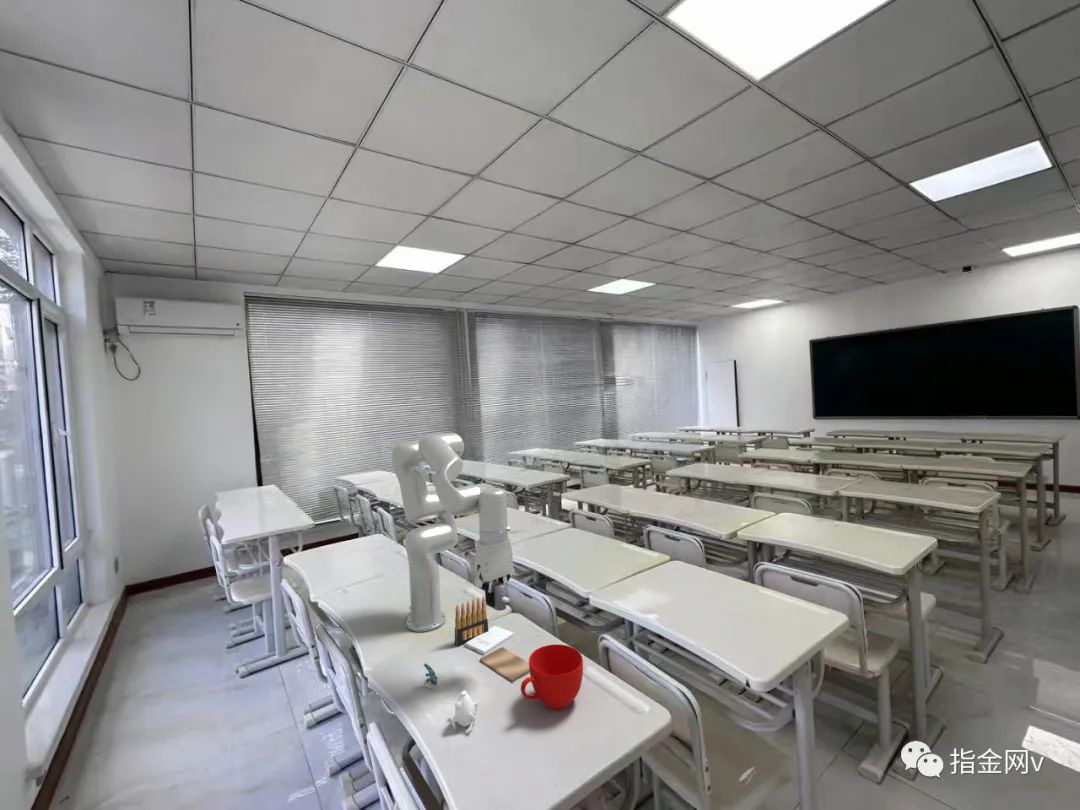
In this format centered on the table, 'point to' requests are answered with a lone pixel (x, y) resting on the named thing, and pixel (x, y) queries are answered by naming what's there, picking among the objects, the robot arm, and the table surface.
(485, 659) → the wood pad
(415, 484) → the robot arm
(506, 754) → the table surface
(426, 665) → the sculpture
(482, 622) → the ammunition clip
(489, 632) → the external hard drive
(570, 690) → the ceramic cup
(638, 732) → the table surface
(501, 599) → the connector
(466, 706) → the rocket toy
